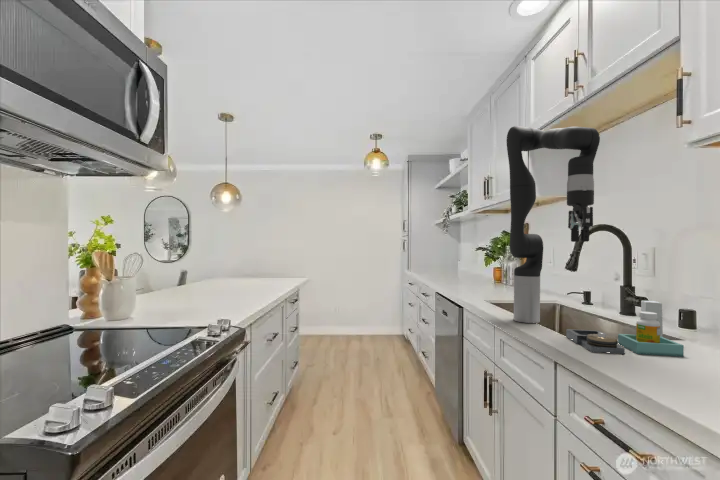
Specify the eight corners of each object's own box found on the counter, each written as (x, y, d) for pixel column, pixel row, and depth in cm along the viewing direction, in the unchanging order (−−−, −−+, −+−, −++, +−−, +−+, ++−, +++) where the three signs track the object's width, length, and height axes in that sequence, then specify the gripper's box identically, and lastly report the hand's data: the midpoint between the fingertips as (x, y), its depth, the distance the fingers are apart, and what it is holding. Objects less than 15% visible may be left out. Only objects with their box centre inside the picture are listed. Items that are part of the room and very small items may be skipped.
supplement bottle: (633, 346, 111) (633, 312, 111) (639, 344, 114) (640, 310, 115) (656, 351, 107) (656, 315, 107) (662, 348, 110) (662, 313, 110)
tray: (618, 344, 117) (618, 333, 117) (659, 346, 115) (659, 336, 115) (636, 353, 106) (637, 342, 106) (683, 356, 104) (683, 345, 104)
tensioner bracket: (566, 336, 125) (566, 322, 125) (598, 338, 123) (599, 324, 123) (589, 352, 107) (589, 335, 107) (627, 354, 105) (627, 337, 105)
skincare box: (663, 343, 118) (663, 303, 118) (645, 342, 120) (645, 302, 120) (657, 339, 124) (657, 300, 124) (640, 338, 126) (640, 299, 126)
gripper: (560, 193, 133) (559, 241, 133) (575, 187, 119) (574, 241, 119) (584, 193, 132) (584, 242, 131) (602, 186, 118) (602, 241, 117)
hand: (579, 241), depth 125 cm, fingers open, 8 cm apart
